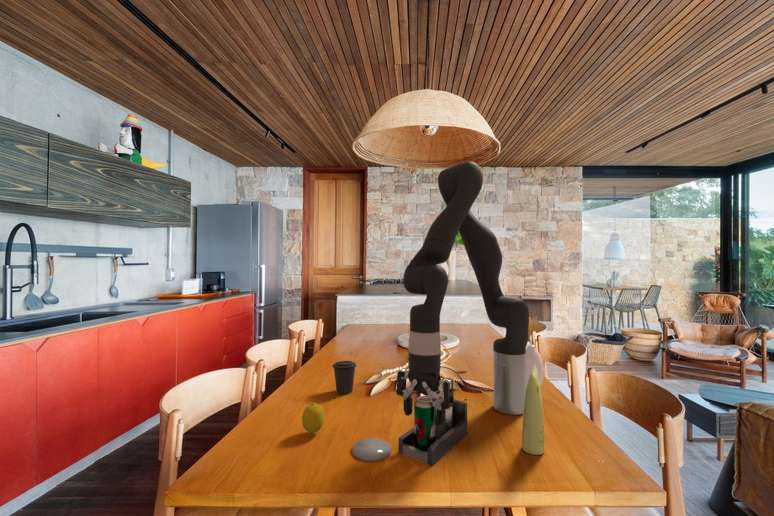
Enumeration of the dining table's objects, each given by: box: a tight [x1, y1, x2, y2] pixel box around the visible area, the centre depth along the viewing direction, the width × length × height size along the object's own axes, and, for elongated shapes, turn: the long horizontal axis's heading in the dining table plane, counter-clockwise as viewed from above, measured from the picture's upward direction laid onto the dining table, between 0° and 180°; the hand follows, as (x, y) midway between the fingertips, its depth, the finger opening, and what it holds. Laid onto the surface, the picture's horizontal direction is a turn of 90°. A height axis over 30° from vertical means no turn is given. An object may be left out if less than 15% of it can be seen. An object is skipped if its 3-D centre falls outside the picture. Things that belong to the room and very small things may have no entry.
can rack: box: [397, 398, 468, 467], centre depth 86 cm, size 18×9×8 cm, turn 143°
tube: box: [521, 363, 545, 456], centre depth 83 cm, size 6×5×20 cm
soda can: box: [413, 395, 437, 452], centre depth 83 cm, size 5×5×12 cm
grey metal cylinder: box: [434, 385, 453, 441], centre depth 89 cm, size 5×5×12 cm
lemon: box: [301, 402, 325, 435], centre depth 91 cm, size 6×6×8 cm
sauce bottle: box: [526, 337, 545, 389], centre depth 121 cm, size 8×8×18 cm
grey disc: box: [351, 437, 392, 462], centre depth 83 cm, size 9×9×1 cm
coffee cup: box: [332, 360, 357, 396], centre depth 120 cm, size 8×8×10 cm
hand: (423, 419), depth 83 cm, fingers open, 8 cm apart
